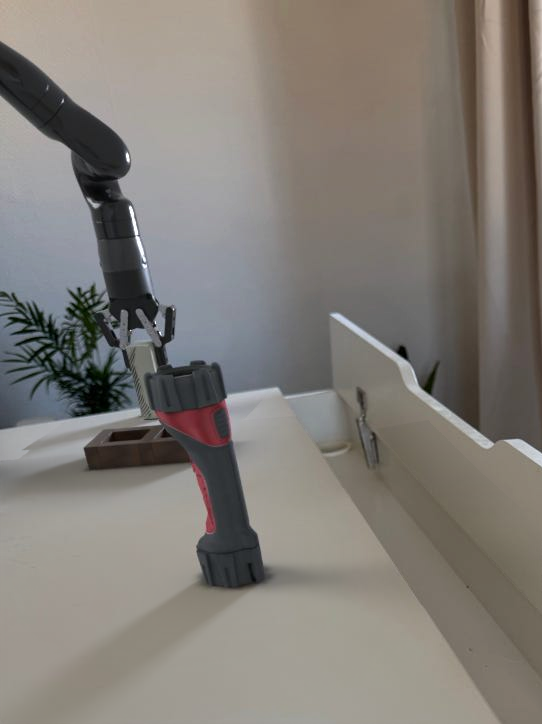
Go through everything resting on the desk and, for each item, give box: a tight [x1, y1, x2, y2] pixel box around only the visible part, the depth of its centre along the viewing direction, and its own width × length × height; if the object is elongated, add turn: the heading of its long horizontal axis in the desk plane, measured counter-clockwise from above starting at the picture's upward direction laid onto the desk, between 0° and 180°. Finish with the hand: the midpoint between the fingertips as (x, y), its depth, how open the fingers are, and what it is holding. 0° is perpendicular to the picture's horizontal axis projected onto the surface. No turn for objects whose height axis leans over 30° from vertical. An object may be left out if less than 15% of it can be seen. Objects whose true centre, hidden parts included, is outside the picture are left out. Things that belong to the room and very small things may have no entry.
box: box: [126, 339, 159, 420], centre depth 172 cm, size 5×4×13 cm
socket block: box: [82, 424, 193, 471], centre depth 149 cm, size 18×10×4 cm, turn 92°
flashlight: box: [143, 359, 267, 589], centre depth 101 cm, size 8×8×23 cm
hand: (147, 368), depth 171 cm, fingers closed on box, 4 cm apart
